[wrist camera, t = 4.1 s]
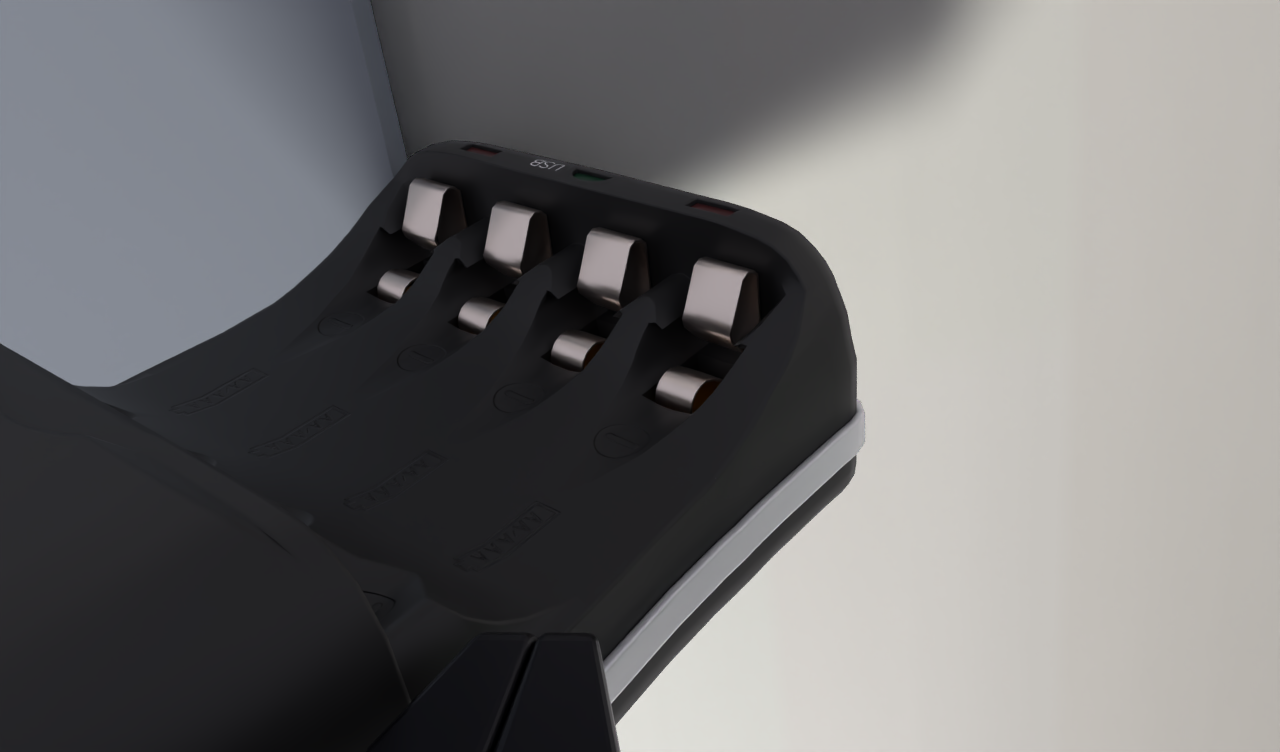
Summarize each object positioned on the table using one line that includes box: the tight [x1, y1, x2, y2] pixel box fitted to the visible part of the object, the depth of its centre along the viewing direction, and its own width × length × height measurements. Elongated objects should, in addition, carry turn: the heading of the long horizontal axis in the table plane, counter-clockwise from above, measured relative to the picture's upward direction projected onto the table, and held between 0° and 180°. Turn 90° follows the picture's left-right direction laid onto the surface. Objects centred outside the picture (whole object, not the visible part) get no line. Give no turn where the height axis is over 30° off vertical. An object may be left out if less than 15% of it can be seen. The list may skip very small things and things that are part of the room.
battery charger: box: [0, 141, 865, 752], centre depth 10 cm, size 7×4×11 cm
